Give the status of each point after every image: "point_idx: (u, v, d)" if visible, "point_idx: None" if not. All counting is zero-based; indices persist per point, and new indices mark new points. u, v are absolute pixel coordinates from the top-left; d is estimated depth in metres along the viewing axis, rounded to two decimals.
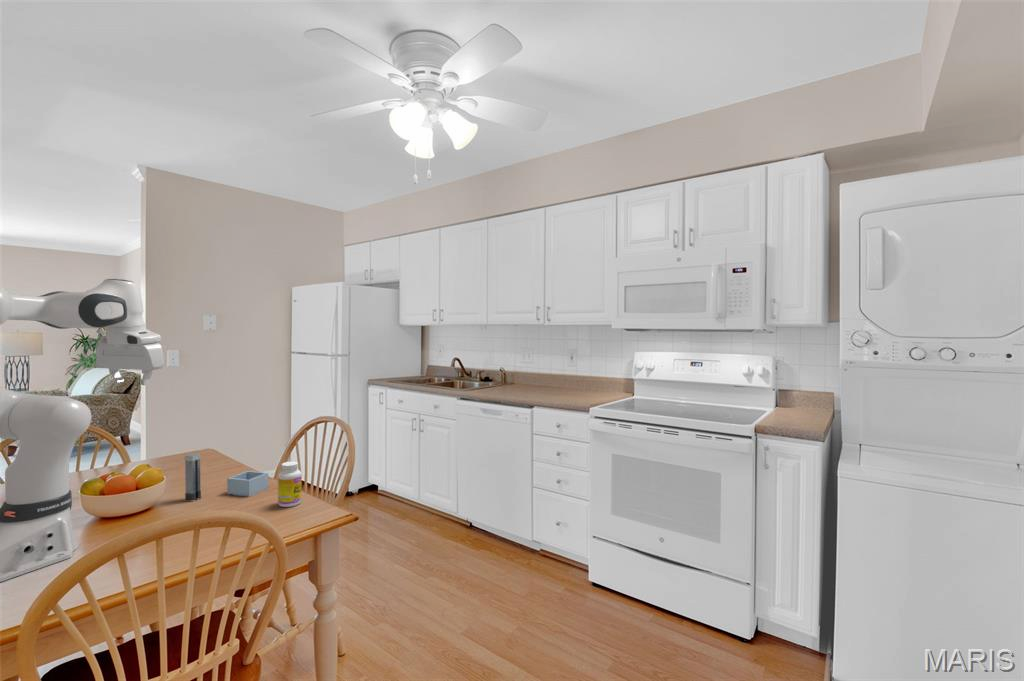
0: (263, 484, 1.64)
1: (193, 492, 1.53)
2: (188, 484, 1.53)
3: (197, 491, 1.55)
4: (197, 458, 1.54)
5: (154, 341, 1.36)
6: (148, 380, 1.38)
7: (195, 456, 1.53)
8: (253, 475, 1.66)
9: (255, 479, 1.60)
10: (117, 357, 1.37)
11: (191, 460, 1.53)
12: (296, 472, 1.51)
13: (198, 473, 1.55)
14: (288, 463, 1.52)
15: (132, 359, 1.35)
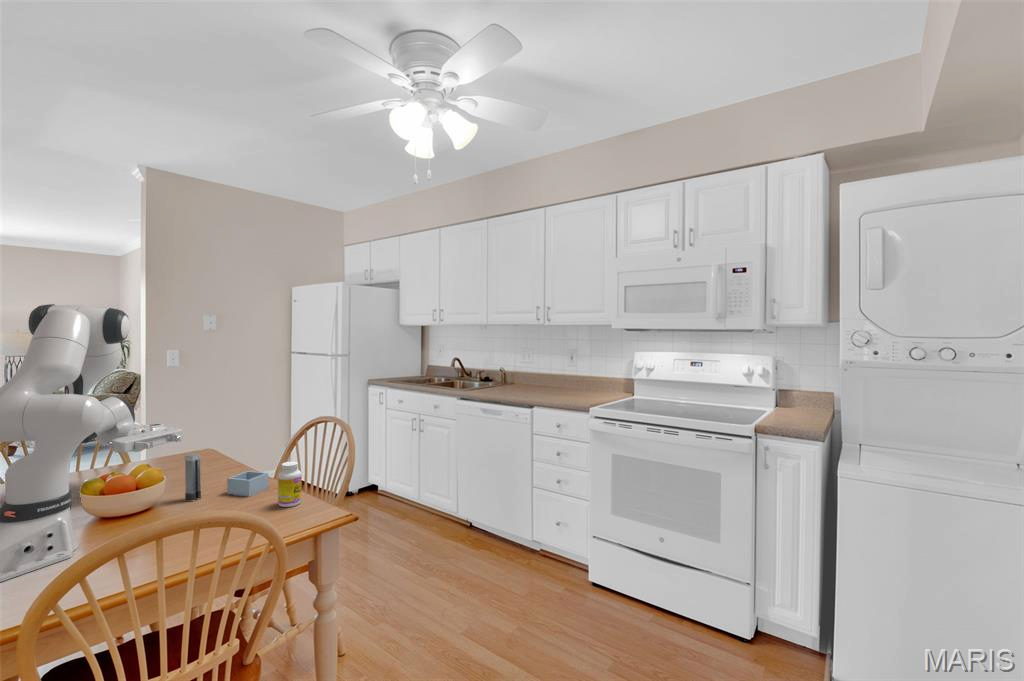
0: (263, 484, 1.64)
1: (193, 492, 1.53)
2: (188, 484, 1.53)
3: (197, 491, 1.55)
4: (197, 458, 1.54)
5: None
6: None
7: (195, 456, 1.53)
8: (253, 475, 1.66)
9: (255, 479, 1.60)
10: (142, 435, 1.59)
11: (191, 460, 1.53)
12: (296, 472, 1.51)
13: (198, 473, 1.55)
14: (288, 463, 1.52)
15: (159, 432, 1.64)
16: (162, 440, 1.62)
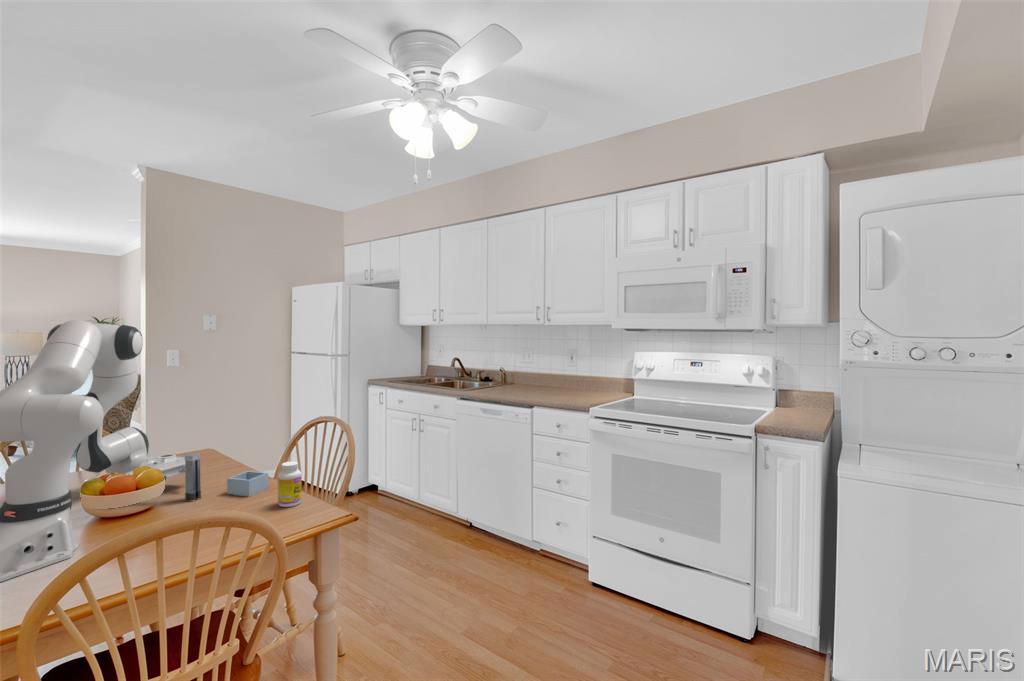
0: (263, 484, 1.64)
1: (193, 492, 1.53)
2: (188, 484, 1.53)
3: (197, 491, 1.55)
4: (197, 458, 1.54)
5: None
6: None
7: (195, 456, 1.53)
8: (253, 475, 1.66)
9: (255, 479, 1.60)
10: (154, 468, 1.57)
11: (191, 460, 1.53)
12: (296, 472, 1.51)
13: (198, 473, 1.55)
14: (288, 463, 1.52)
15: (171, 463, 1.62)
16: (174, 472, 1.61)
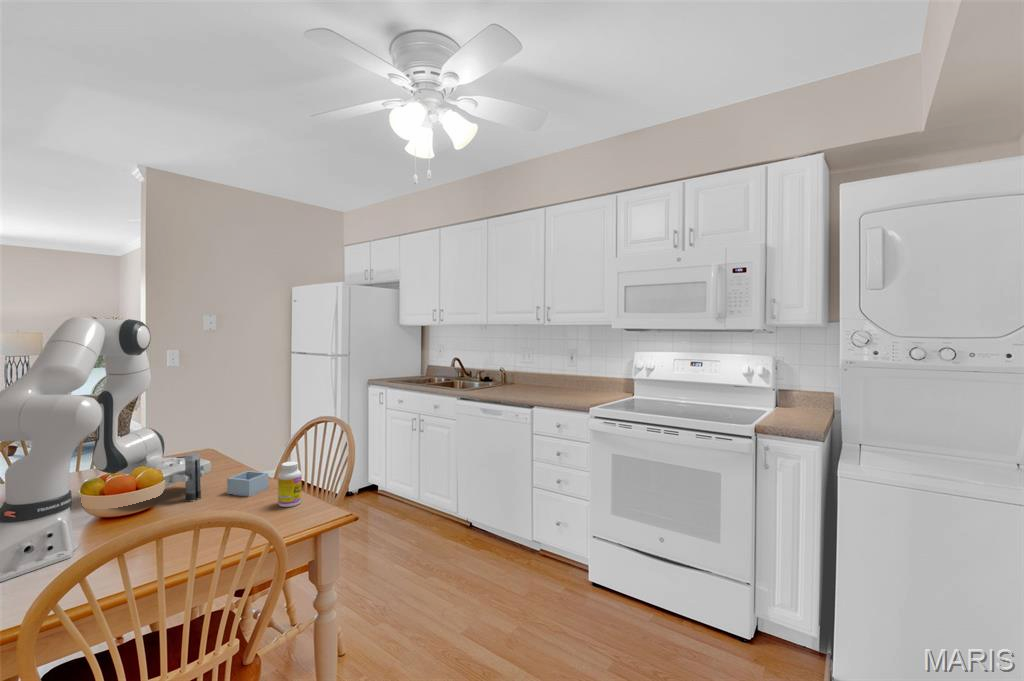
0: (263, 484, 1.64)
1: (193, 492, 1.53)
2: (188, 484, 1.53)
3: (197, 491, 1.55)
4: (197, 458, 1.54)
5: None
6: None
7: (195, 456, 1.53)
8: (253, 475, 1.66)
9: (255, 479, 1.60)
10: (170, 469, 1.55)
11: (191, 460, 1.52)
12: (296, 472, 1.51)
13: (198, 473, 1.55)
14: (288, 463, 1.52)
15: None
16: None
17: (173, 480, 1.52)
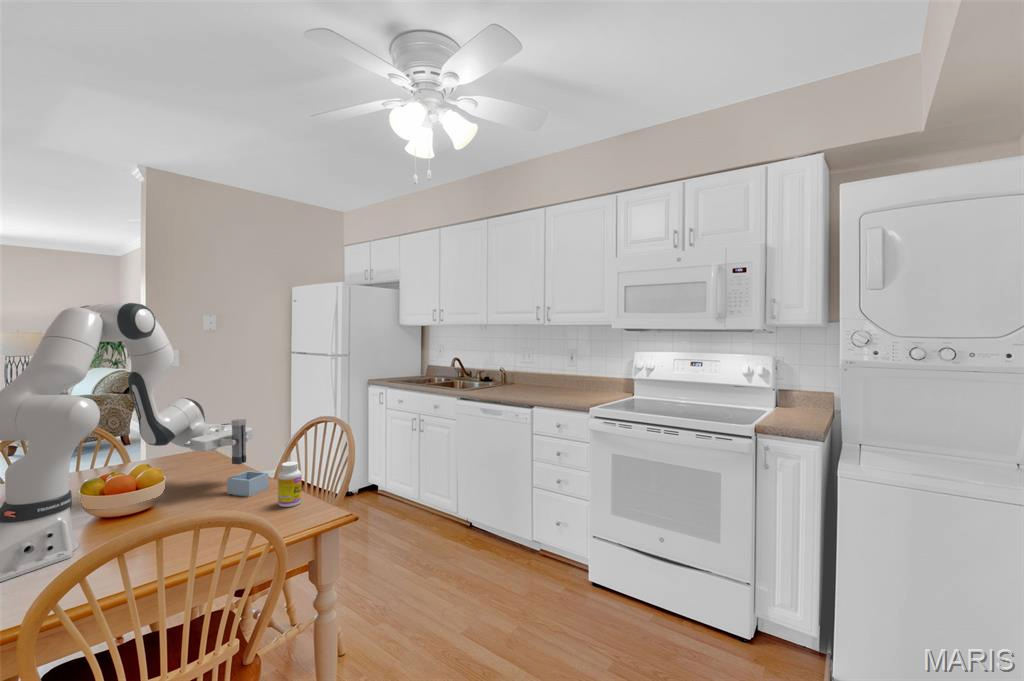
0: (263, 484, 1.64)
1: (239, 456, 1.60)
2: (234, 448, 1.60)
3: (243, 455, 1.62)
4: (243, 423, 1.61)
5: None
6: None
7: (241, 421, 1.60)
8: (253, 475, 1.66)
9: (255, 479, 1.60)
10: (217, 434, 1.62)
11: (238, 425, 1.59)
12: (296, 472, 1.51)
13: (244, 438, 1.62)
14: (288, 463, 1.52)
15: None
16: None
17: (221, 444, 1.59)
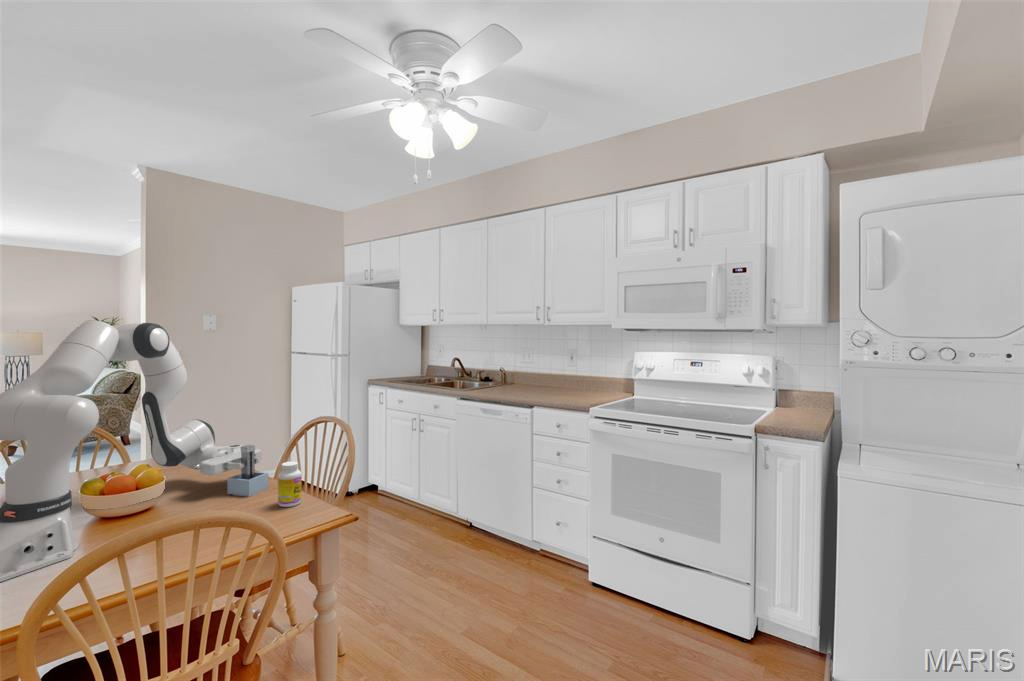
0: (263, 484, 1.64)
1: None
2: (243, 474, 1.61)
3: None
4: (252, 450, 1.62)
5: None
6: None
7: (250, 448, 1.61)
8: None
9: (255, 479, 1.60)
10: (226, 457, 1.63)
11: (246, 451, 1.60)
12: (296, 472, 1.51)
13: (252, 464, 1.63)
14: (288, 463, 1.52)
15: None
16: None
17: (228, 467, 1.59)
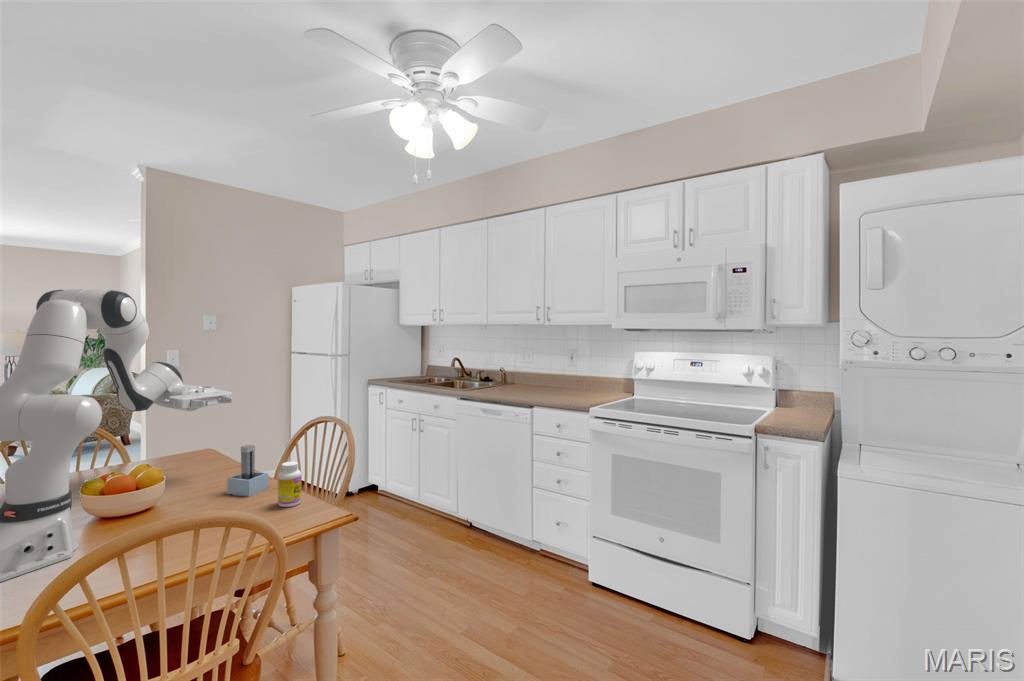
0: (263, 484, 1.64)
1: None
2: (243, 474, 1.61)
3: None
4: (251, 450, 1.62)
5: None
6: None
7: (250, 448, 1.61)
8: None
9: (255, 479, 1.60)
10: (196, 395, 1.66)
11: (246, 451, 1.60)
12: (296, 472, 1.51)
13: (252, 464, 1.63)
14: (288, 463, 1.52)
15: (211, 393, 1.71)
16: (214, 401, 1.69)
17: (191, 404, 1.60)
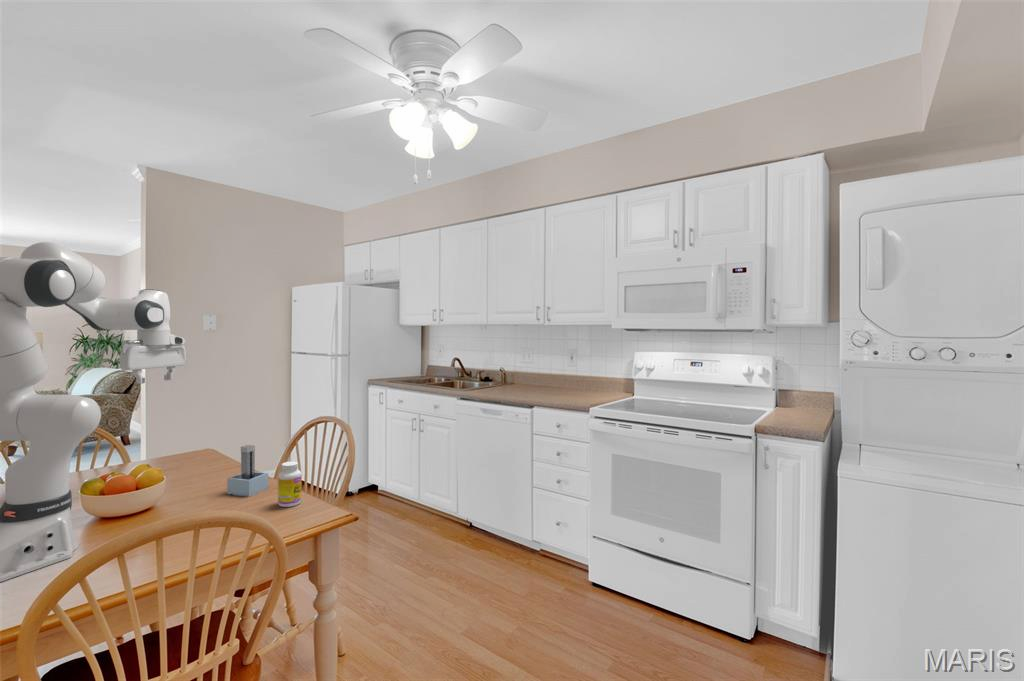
0: (263, 484, 1.64)
1: None
2: (243, 474, 1.61)
3: None
4: (251, 450, 1.62)
5: None
6: None
7: (250, 448, 1.61)
8: None
9: (255, 479, 1.60)
10: (153, 357, 1.55)
11: (246, 451, 1.60)
12: (296, 472, 1.51)
13: (252, 464, 1.63)
14: (288, 463, 1.52)
15: (168, 357, 1.61)
16: None
17: (133, 371, 1.52)
